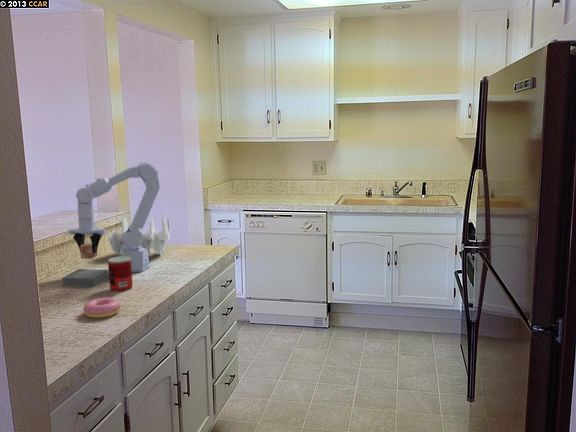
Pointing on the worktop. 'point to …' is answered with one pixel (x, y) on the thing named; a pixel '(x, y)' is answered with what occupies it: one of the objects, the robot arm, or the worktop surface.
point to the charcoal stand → (85, 277)
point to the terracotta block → (87, 251)
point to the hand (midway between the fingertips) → (88, 252)
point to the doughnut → (101, 307)
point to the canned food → (120, 273)
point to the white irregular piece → (142, 238)
